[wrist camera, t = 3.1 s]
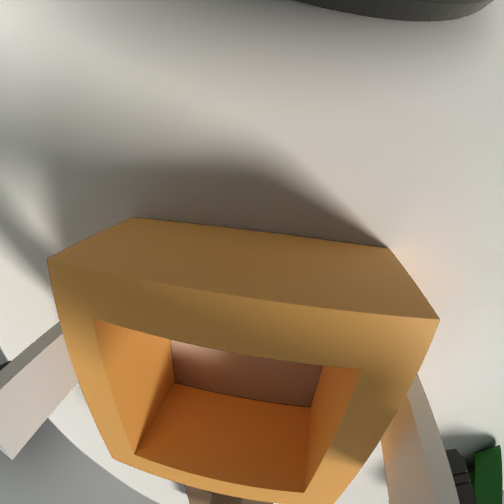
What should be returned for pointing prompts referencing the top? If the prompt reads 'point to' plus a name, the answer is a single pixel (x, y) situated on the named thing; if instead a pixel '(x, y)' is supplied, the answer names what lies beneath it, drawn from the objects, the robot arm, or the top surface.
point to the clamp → (487, 476)
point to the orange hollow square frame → (240, 351)
